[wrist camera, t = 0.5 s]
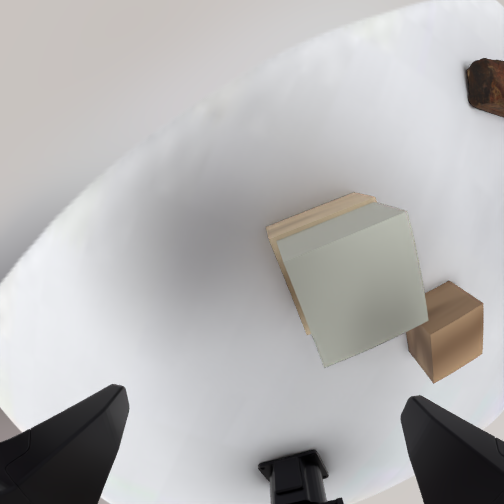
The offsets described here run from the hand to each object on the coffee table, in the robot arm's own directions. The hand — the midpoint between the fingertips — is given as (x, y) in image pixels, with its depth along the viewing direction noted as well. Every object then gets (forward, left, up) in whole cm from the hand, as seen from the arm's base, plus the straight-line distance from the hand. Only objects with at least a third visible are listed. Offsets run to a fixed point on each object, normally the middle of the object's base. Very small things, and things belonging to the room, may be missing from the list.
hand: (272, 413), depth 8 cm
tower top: (0, -5, -10) cm, 11 cm away
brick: (+6, -27, -14) cm, 31 cm away
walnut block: (-10, -12, -14) cm, 20 cm away
